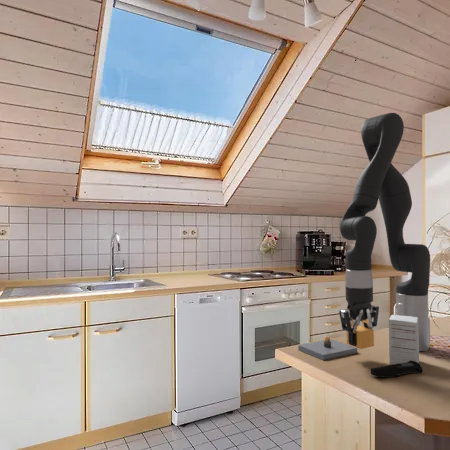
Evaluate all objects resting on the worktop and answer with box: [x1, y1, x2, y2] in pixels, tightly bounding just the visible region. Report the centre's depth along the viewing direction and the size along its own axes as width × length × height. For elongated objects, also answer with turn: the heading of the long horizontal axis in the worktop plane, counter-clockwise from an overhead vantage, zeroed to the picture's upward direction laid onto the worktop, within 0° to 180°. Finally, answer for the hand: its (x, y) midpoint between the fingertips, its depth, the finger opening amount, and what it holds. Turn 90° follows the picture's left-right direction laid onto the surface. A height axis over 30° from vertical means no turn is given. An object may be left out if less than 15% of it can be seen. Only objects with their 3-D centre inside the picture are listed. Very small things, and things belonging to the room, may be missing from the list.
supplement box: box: [388, 314, 420, 365], centre depth 108 cm, size 7×7×13 cm
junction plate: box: [297, 335, 358, 361], centre depth 118 cm, size 14×11×4 cm
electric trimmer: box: [370, 361, 424, 378], centre depth 99 cm, size 4×16×3 cm, turn 110°
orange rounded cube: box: [346, 325, 375, 350], centre depth 110 cm, size 5×5×5 cm
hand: (360, 343), depth 110 cm, fingers closed on orange rounded cube, 5 cm apart
